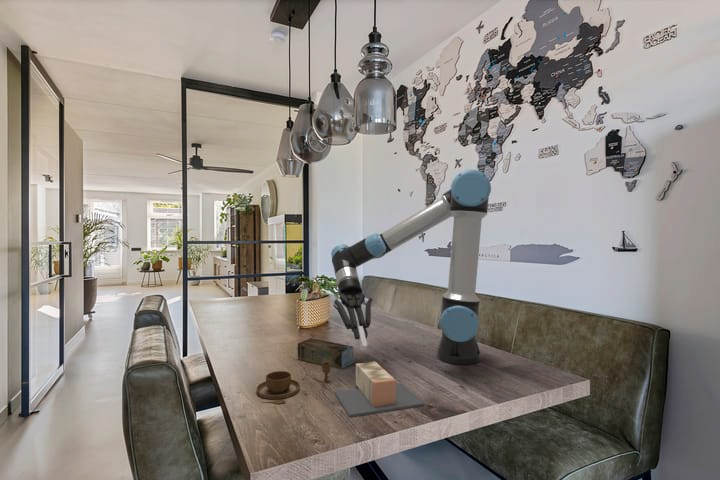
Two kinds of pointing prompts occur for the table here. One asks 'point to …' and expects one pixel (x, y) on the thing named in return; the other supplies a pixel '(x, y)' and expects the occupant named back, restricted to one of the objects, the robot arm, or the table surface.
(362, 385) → the birch block
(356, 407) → the rubber mat
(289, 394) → the place setting
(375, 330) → the table surface
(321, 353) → the beverage carton
